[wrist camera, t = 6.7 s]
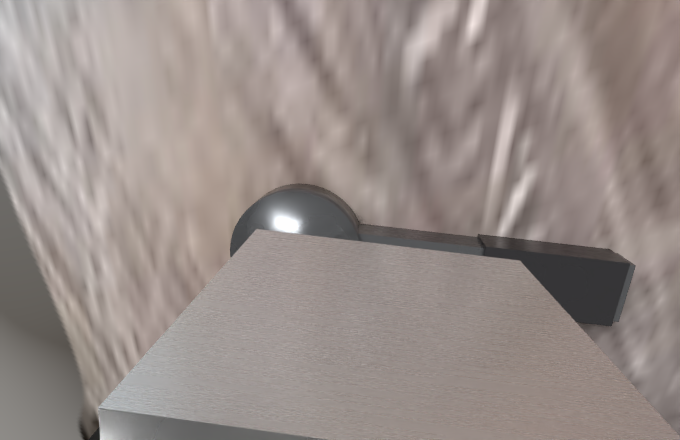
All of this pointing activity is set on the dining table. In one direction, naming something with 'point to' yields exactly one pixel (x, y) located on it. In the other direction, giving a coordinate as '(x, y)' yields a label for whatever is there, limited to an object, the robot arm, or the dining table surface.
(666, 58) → the dining table surface
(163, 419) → the socket
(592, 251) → the ratchet
